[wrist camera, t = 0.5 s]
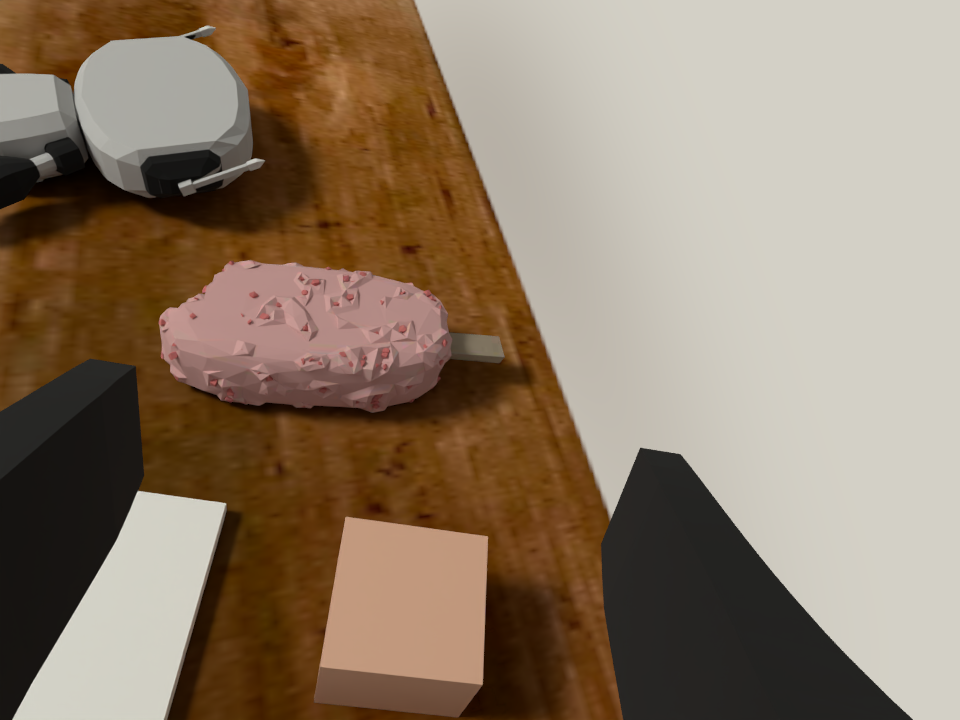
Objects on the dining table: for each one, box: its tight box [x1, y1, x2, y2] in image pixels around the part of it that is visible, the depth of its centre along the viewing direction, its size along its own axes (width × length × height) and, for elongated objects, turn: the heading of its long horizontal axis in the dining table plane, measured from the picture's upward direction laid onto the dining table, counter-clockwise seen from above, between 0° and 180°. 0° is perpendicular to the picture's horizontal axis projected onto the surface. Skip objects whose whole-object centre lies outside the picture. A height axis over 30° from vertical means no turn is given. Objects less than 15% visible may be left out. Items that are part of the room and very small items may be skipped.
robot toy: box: [0, 26, 265, 209], centre depth 38 cm, size 12×4×15 cm
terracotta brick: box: [314, 517, 488, 717], centre depth 26 cm, size 5×5×4 cm
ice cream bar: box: [159, 260, 504, 413], centre depth 33 cm, size 6×4×15 cm
